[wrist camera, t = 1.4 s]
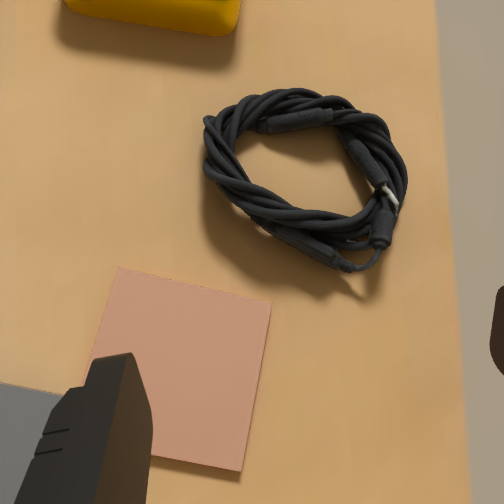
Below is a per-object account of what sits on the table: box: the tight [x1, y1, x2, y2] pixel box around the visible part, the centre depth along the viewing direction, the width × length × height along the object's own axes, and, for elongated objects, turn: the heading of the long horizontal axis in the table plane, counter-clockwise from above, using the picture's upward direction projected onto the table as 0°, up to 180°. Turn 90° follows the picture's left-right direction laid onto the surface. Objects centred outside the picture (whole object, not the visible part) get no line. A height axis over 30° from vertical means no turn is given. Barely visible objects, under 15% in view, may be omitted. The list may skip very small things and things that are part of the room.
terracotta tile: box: [81, 267, 272, 472], centre depth 28 cm, size 11×11×1 cm
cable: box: [203, 88, 408, 273], centre depth 33 cm, size 17×14×4 cm
